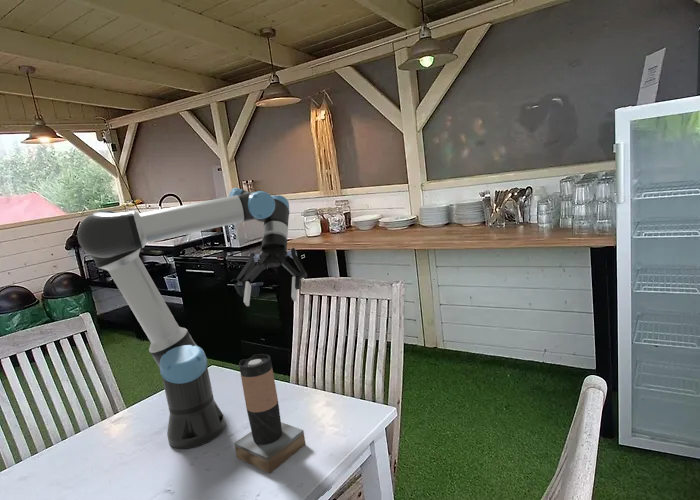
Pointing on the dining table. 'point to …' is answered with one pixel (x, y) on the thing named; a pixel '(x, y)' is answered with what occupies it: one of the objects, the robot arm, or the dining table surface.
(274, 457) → the walnut stand
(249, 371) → the travel mug
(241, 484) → the dining table surface
